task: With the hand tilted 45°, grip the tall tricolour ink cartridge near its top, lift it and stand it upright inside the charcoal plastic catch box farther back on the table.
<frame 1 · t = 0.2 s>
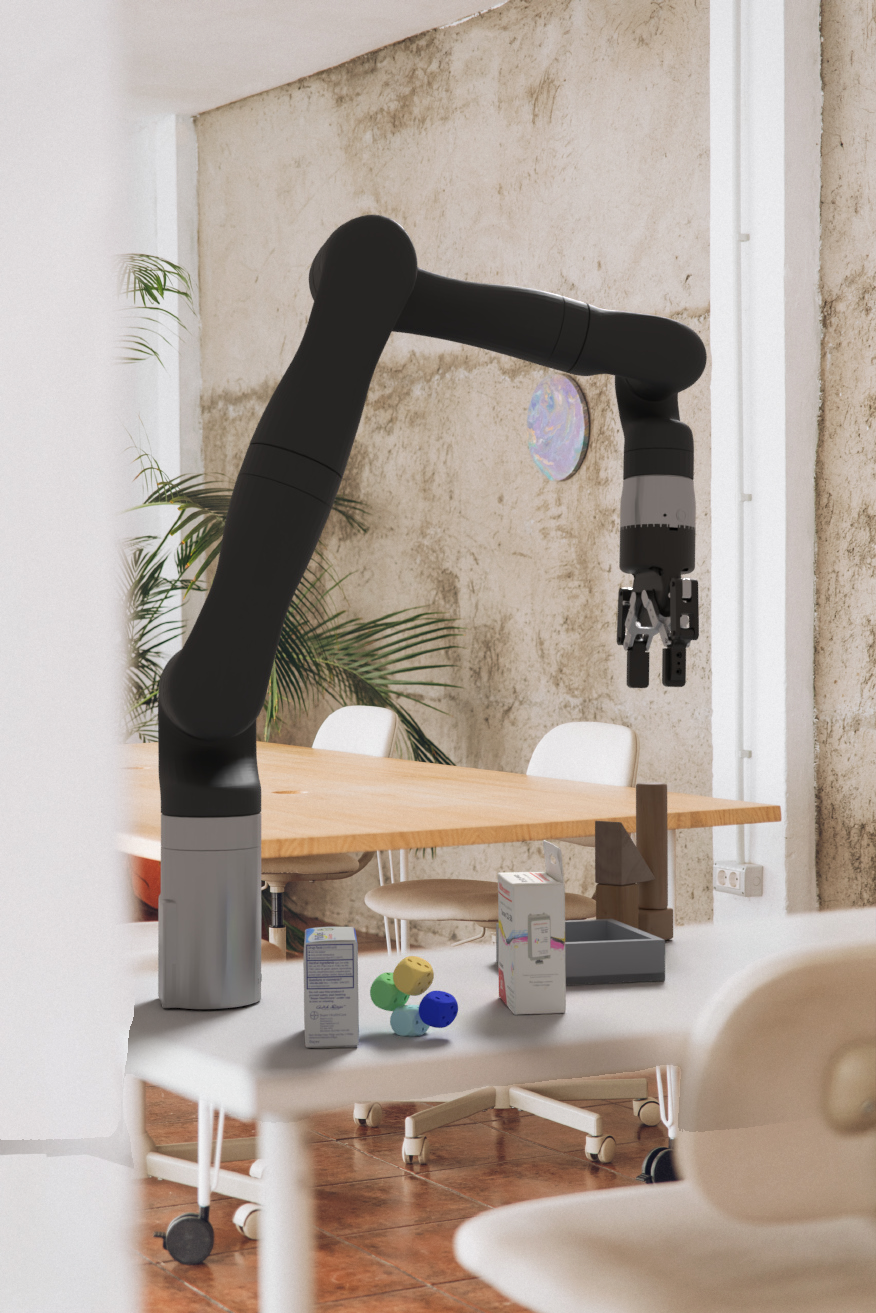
hand: (655, 687, 159), 29 cm above the table, tool pointing down, fingers open, 8 cm apart
ink cartridge box: (530, 1007, 145), on the table
medicine box: (330, 1040, 132), on the table
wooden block: (635, 945, 181), on the table
dice: (413, 1036, 133), on the table
catch box: (577, 970, 163), on the table
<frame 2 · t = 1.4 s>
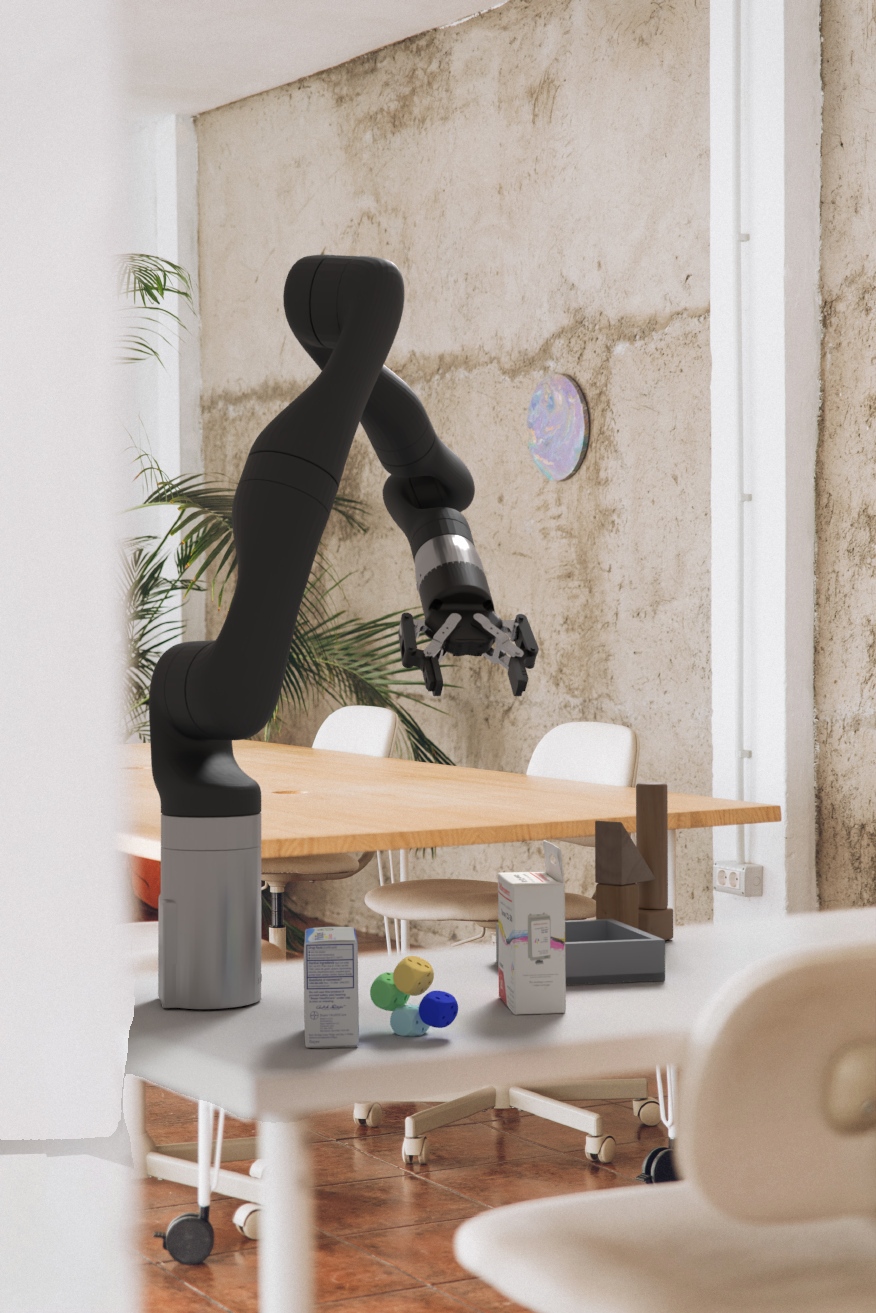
hand: (479, 690, 163), 29 cm above the table, tool tilted 45°, fingers open, 8 cm apart
nothing on the table moved.
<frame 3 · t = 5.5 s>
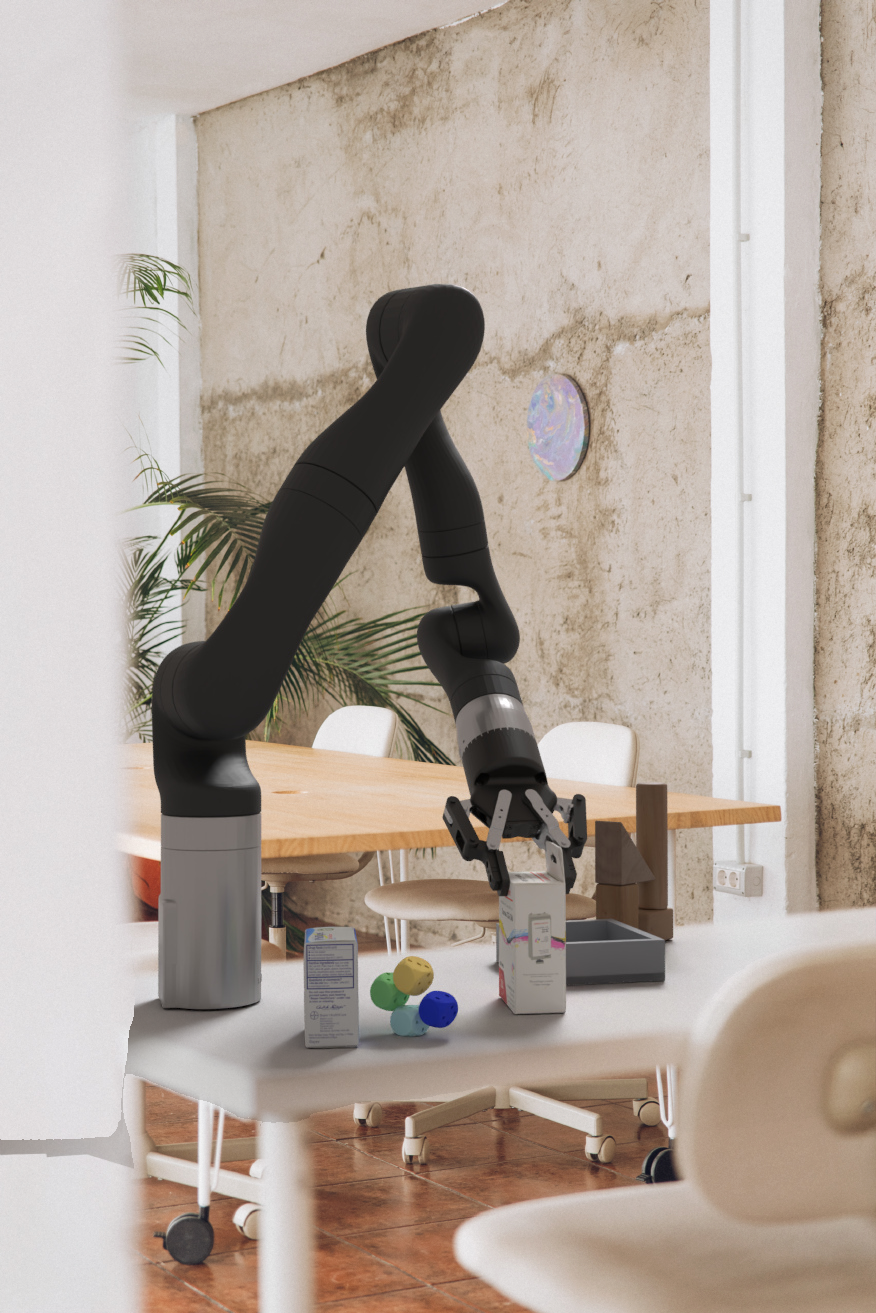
hand: (536, 889, 144), 11 cm above the table, tool tilted 45°, fingers closed on ink cartridge box, 5 cm apart
ink cartridge box: (530, 1007, 145), on the table, touching gripper
everything else where it was.
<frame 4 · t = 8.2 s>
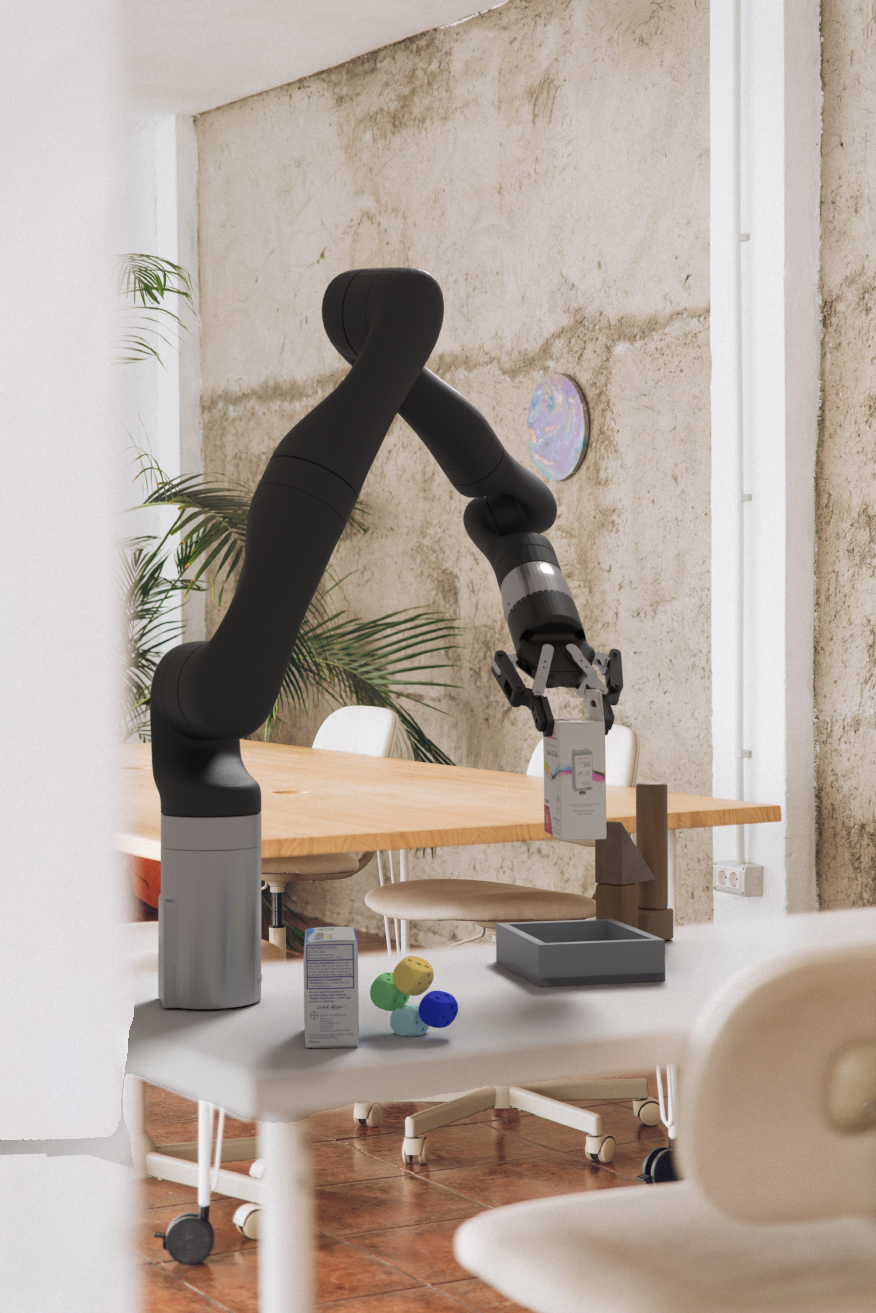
hand: (578, 729, 159), 25 cm above the table, tool tilted 45°, fingers closed on ink cartridge box, 5 cm apart
ink cartridge box: (574, 837, 160), point 14 cm above the table, touching gripper
everything else where it was.
when the fingers open (13 cm above the table, at t = 11.1 s): ink cartridge box drops 1 cm, resting on catch box.
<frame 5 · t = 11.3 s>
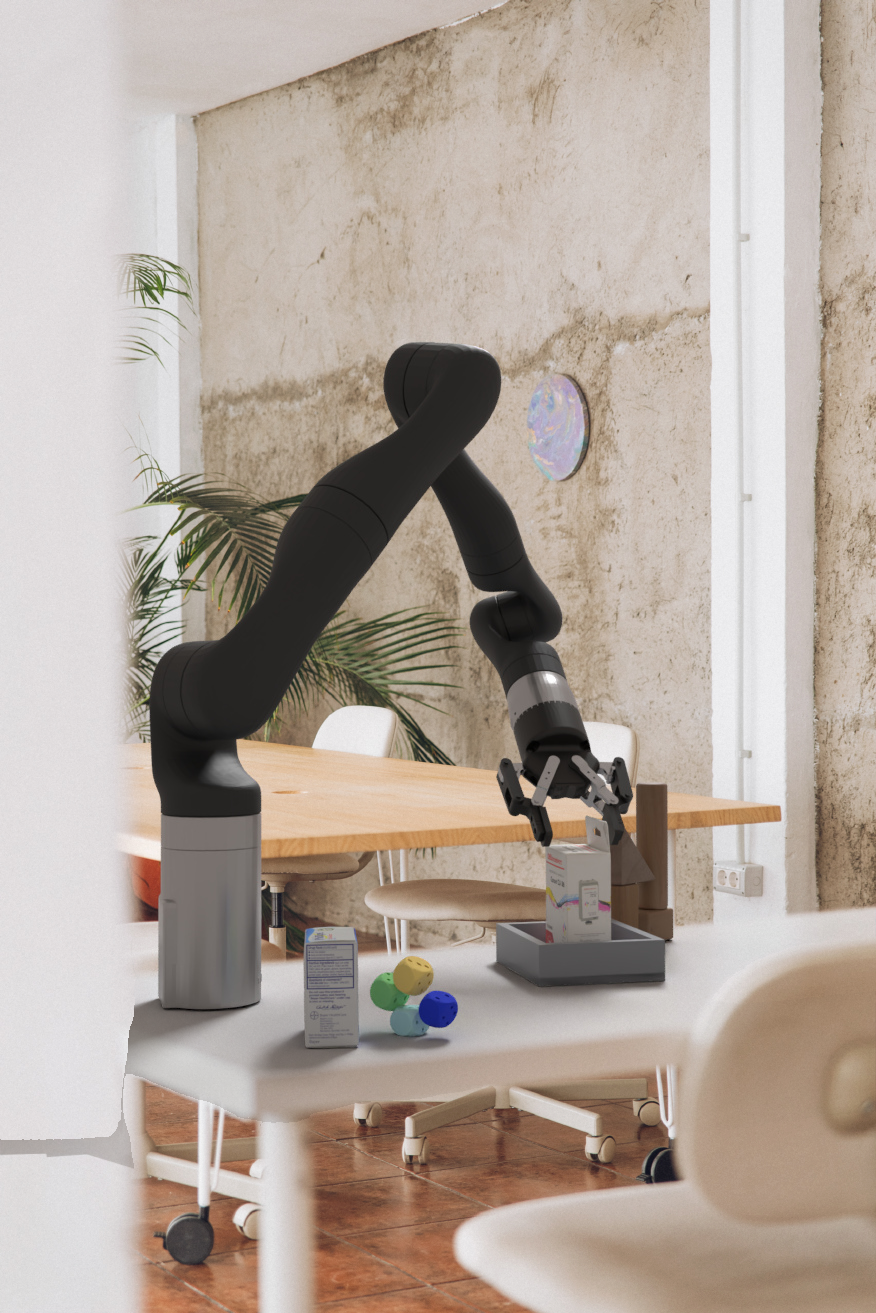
hand: (582, 840, 162), 13 cm above the table, tool tilted 45°, fingers open, 6 cm apart
ink cartridge box: (577, 964, 163), point 1 cm above the table, touching catch box
everything else where it was.
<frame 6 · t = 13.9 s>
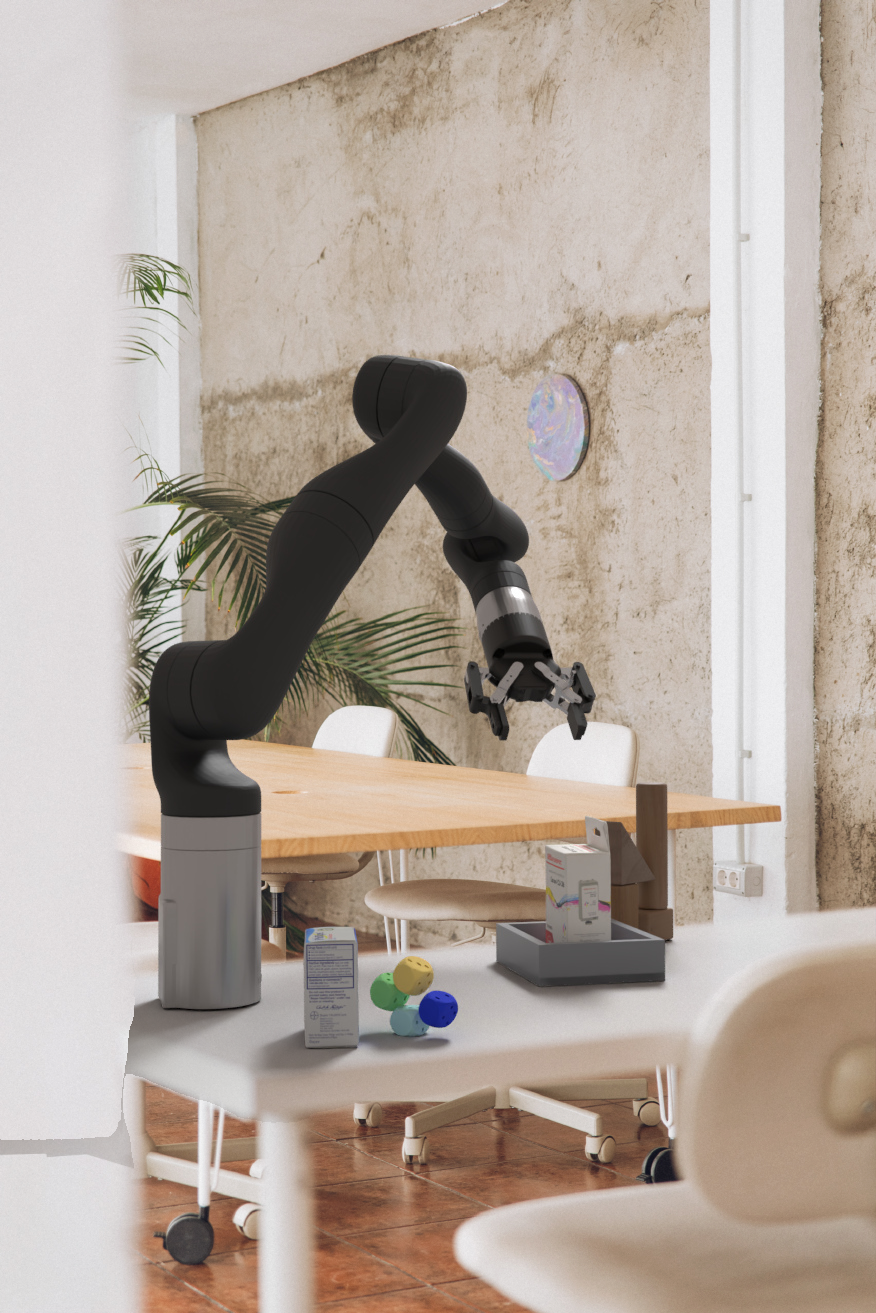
hand: (542, 735, 175), 24 cm above the table, tool tilted 45°, fingers open, 8 cm apart
nothing on the table moved.
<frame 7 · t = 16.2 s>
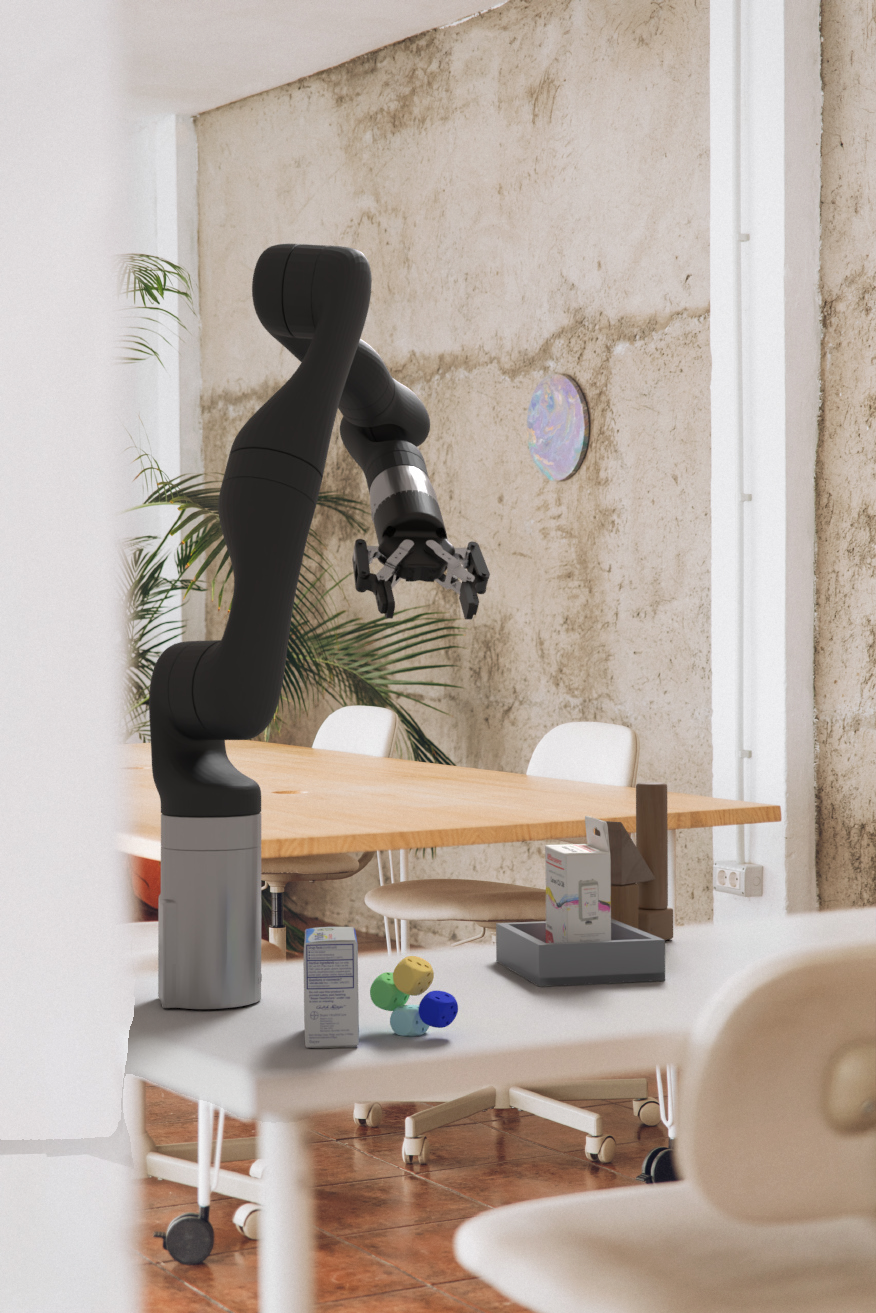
hand: (431, 613, 166), 37 cm above the table, tool tilted 45°, fingers open, 8 cm apart
nothing on the table moved.
at the end: ink cartridge box inside the target area on the catch box (0.1 cm from its centre), point 0.6 cm above the catch box's base; ink cartridge box tilted 0°; the gripper is holding nothing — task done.
